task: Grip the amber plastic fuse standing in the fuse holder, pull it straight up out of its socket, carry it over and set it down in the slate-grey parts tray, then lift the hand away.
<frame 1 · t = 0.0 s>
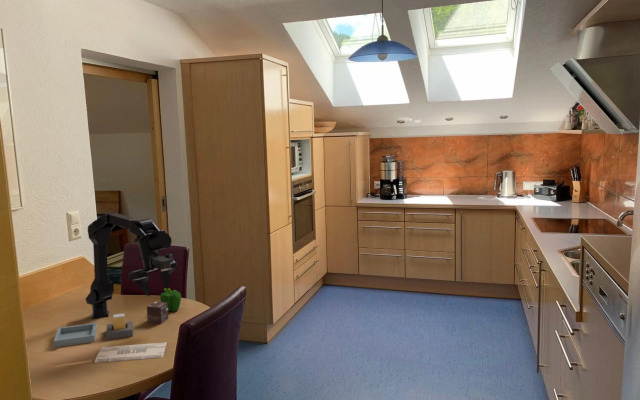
hand: (158, 292, 188), 15 cm above the table, fingers open, 9 cm apart
bell pepper: (171, 310, 213), on the table
fuse holder: (120, 334, 187), on the table
fuse: (120, 333, 187), resting on fuse holder
box: (158, 322, 199), on the table
parts tray: (76, 338, 184), on the table
newspaper: (131, 354, 172), on the table
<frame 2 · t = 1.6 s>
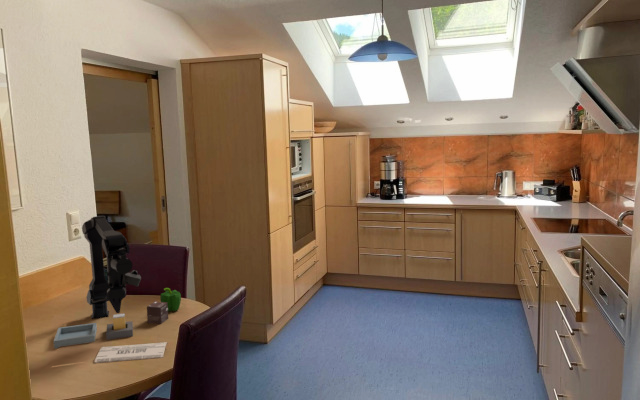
hand: (118, 308, 186), 10 cm above the table, fingers open, 9 cm apart
nothing on the table moved.
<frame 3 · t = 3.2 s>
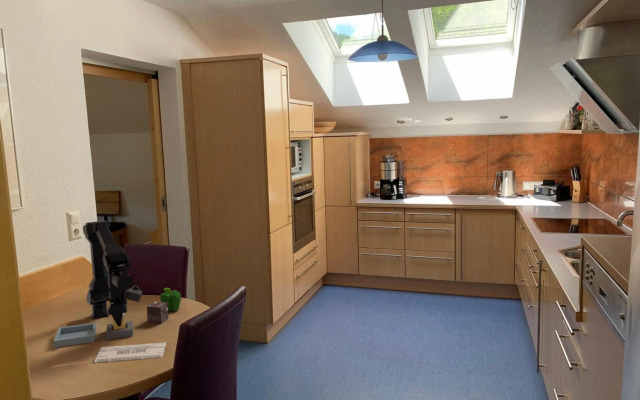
hand: (119, 324, 186), 4 cm above the table, fingers closed on fuse, 3 cm apart
fuse: (120, 333, 187), point 1 cm above the table, touching fuse holder, gripper
everything else where it was.
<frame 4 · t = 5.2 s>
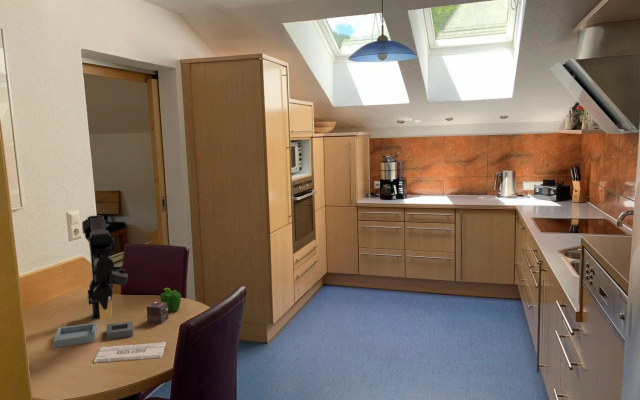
hand: (105, 307, 185), 11 cm above the table, fingers closed on fuse, 3 cm apart
fuse: (106, 316, 185), point 7 cm above the table, touching gripper
everything else where it was.
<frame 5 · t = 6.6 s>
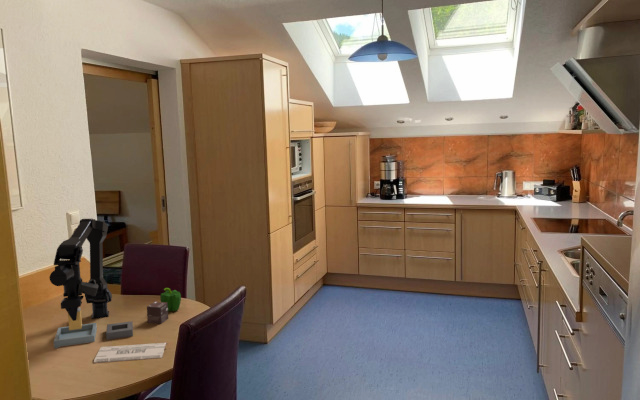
hand: (75, 318, 183), 8 cm above the table, fingers closed on fuse, 3 cm apart
fuse: (75, 327, 183), point 4 cm above the table, touching gripper
everything else where it was.
when the fingers open (6 cm above the table, at t = 7.5 s): fuse drops 2 cm, resting on parts tray.
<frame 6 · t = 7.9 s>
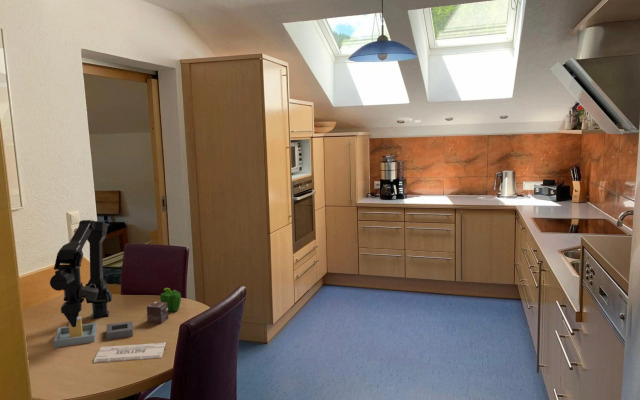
hand: (75, 323, 183), 6 cm above the table, fingers open, 7 cm apart
fuse: (76, 336, 183), point 1 cm above the table, touching parts tray
everything else where it was.
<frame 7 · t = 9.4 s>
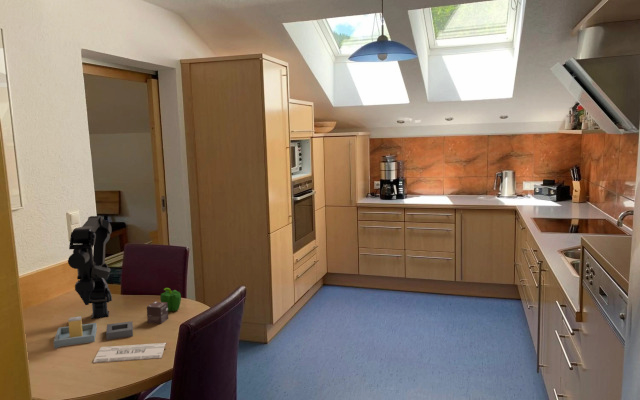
hand: (88, 300, 190), 12 cm above the table, fingers open, 9 cm apart
nothing on the table moved.
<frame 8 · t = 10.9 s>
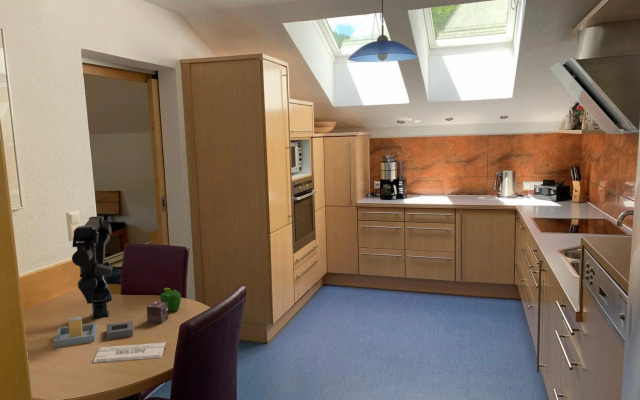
hand: (90, 299, 191), 12 cm above the table, fingers open, 9 cm apart
nothing on the table moved.
at the end: fuse inside the target area on the parts tray (0.0 cm from its centre), point 0.8 cm above the parts tray's base; the gripper is holding nothing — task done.
